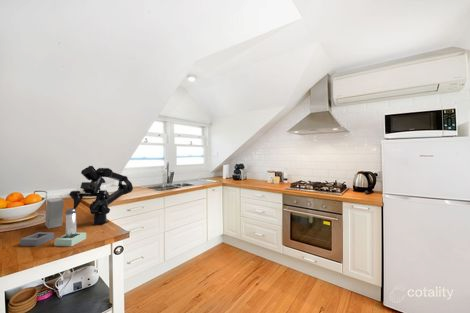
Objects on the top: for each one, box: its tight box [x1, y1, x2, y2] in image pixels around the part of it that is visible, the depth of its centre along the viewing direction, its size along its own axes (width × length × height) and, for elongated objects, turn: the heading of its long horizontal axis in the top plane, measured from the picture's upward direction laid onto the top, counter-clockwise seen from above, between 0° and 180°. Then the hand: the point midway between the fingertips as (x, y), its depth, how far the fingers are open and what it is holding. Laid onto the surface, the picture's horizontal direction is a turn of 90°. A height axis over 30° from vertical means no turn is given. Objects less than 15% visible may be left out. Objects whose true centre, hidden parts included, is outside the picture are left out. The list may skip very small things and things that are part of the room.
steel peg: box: [65, 207, 77, 238], centre depth 96 cm, size 4×4×16 cm
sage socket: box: [53, 231, 87, 247], centre depth 96 cm, size 8×8×3 cm
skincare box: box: [44, 197, 65, 230], centre depth 117 cm, size 8×7×16 cm
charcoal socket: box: [19, 231, 55, 247], centre depth 95 cm, size 8×8×3 cm
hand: (83, 208), depth 106 cm, fingers open, 9 cm apart
